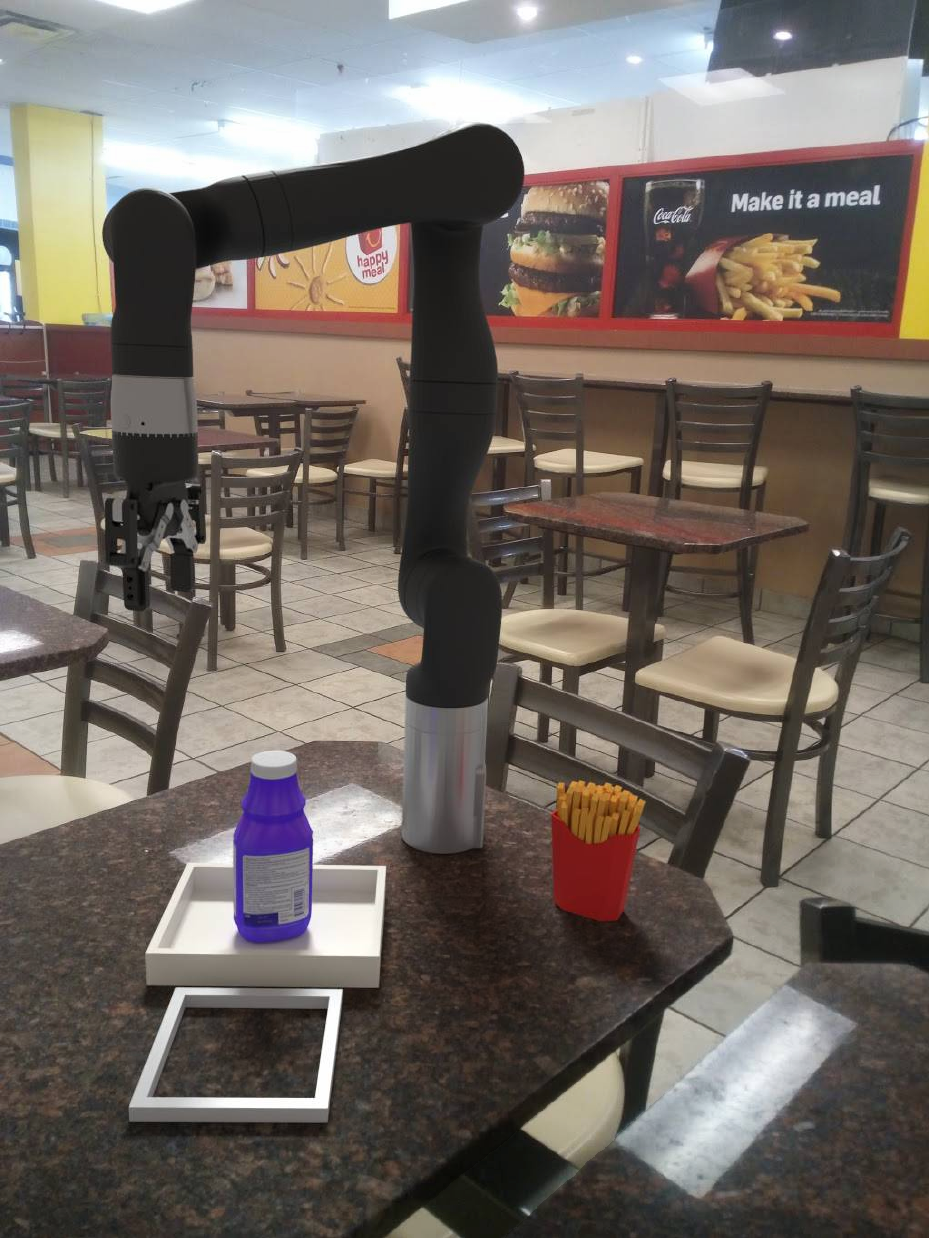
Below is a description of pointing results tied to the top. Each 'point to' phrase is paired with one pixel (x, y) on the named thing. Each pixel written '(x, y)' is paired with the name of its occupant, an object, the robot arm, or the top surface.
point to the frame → (238, 1108)
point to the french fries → (594, 848)
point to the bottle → (272, 853)
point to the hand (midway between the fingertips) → (161, 600)
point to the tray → (320, 957)
